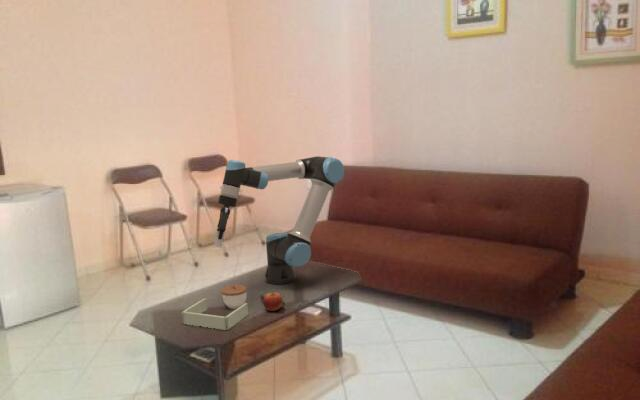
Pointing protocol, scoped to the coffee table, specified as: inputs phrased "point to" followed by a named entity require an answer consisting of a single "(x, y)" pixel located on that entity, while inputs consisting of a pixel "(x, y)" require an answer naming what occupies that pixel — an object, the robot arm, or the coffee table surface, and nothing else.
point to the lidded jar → (234, 295)
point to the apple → (272, 301)
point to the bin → (212, 316)
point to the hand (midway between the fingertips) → (217, 245)
